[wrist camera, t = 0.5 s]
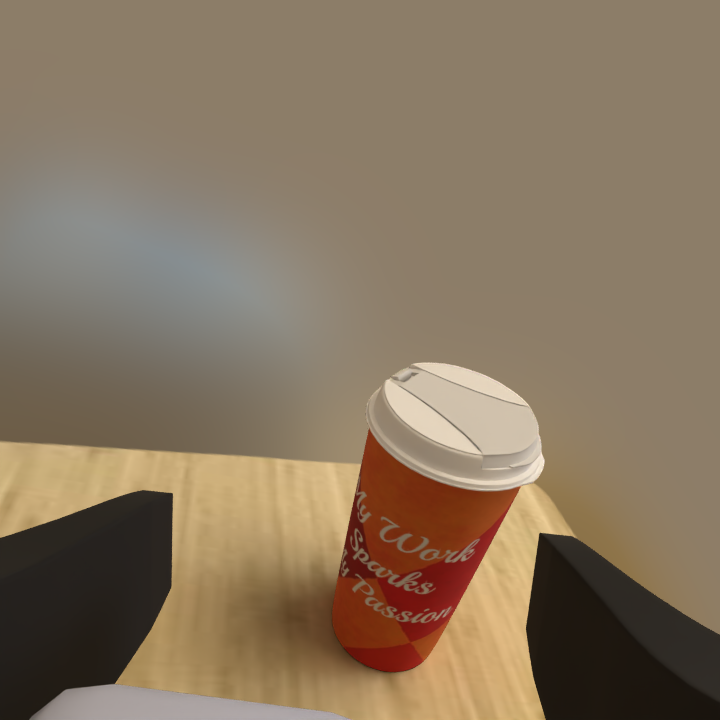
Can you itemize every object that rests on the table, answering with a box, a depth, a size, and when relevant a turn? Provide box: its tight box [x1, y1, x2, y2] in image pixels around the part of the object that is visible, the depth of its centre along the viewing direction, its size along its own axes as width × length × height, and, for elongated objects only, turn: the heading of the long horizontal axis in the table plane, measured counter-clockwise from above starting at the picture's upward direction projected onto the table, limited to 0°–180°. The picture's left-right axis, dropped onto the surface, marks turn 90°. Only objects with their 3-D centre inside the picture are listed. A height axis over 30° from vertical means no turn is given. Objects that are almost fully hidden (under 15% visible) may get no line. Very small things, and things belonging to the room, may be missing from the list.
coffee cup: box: [332, 363, 544, 672], centre depth 32 cm, size 8×8×15 cm
